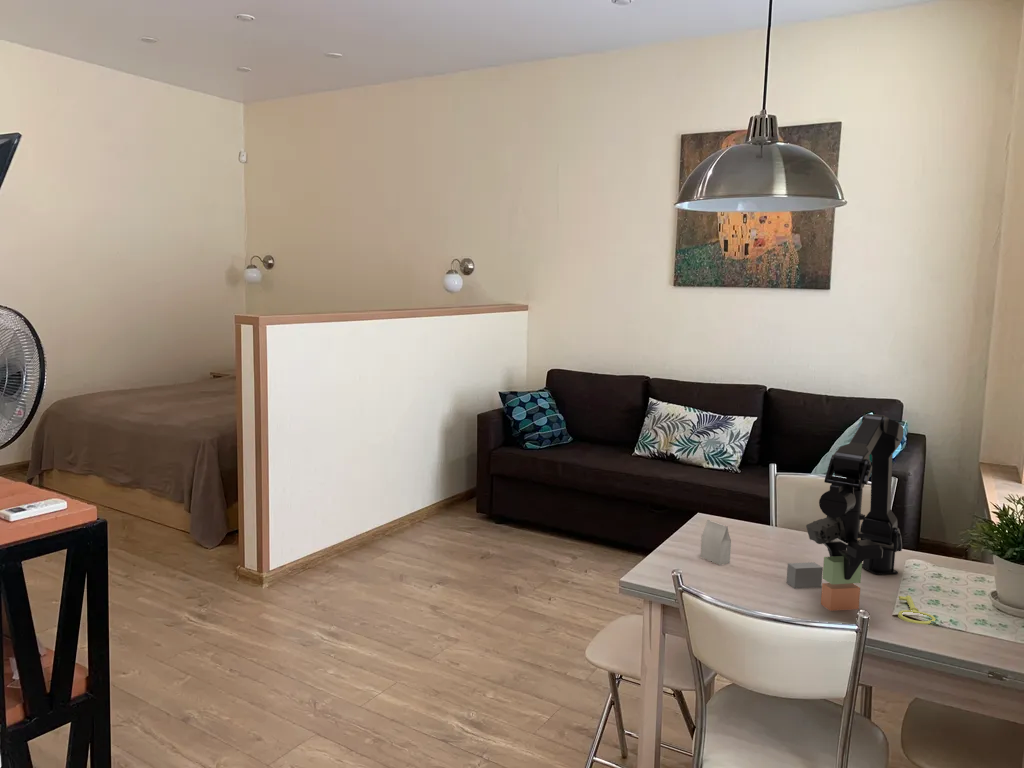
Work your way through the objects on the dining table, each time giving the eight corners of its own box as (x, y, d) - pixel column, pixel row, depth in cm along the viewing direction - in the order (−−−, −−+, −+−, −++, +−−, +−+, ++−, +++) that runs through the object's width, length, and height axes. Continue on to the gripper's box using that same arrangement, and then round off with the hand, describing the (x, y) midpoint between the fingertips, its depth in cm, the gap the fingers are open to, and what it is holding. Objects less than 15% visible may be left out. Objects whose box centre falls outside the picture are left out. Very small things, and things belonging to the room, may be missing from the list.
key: (909, 603, 176) (909, 594, 175) (939, 627, 163) (940, 617, 163) (878, 602, 175) (878, 594, 175) (906, 626, 163) (907, 617, 163)
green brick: (850, 576, 174) (852, 555, 173) (860, 582, 170) (862, 561, 169) (822, 578, 172) (824, 556, 172) (831, 584, 169) (833, 562, 168)
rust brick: (848, 603, 174) (850, 581, 174) (858, 609, 171) (860, 587, 170) (820, 604, 173) (822, 583, 172) (830, 611, 169) (831, 589, 169)
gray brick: (812, 582, 187) (814, 562, 186) (821, 587, 183) (822, 567, 183) (786, 583, 186) (787, 563, 185) (794, 588, 182) (795, 568, 181)
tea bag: (719, 565, 197) (721, 527, 195) (700, 557, 202) (702, 520, 201) (729, 563, 199) (731, 525, 197) (710, 555, 204) (712, 518, 203)
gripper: (790, 497, 177) (786, 563, 179) (838, 521, 159) (833, 594, 160) (834, 496, 179) (830, 561, 181) (887, 520, 161) (881, 591, 162)
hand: (841, 576), depth 171 cm, fingers closed on green brick, 4 cm apart
